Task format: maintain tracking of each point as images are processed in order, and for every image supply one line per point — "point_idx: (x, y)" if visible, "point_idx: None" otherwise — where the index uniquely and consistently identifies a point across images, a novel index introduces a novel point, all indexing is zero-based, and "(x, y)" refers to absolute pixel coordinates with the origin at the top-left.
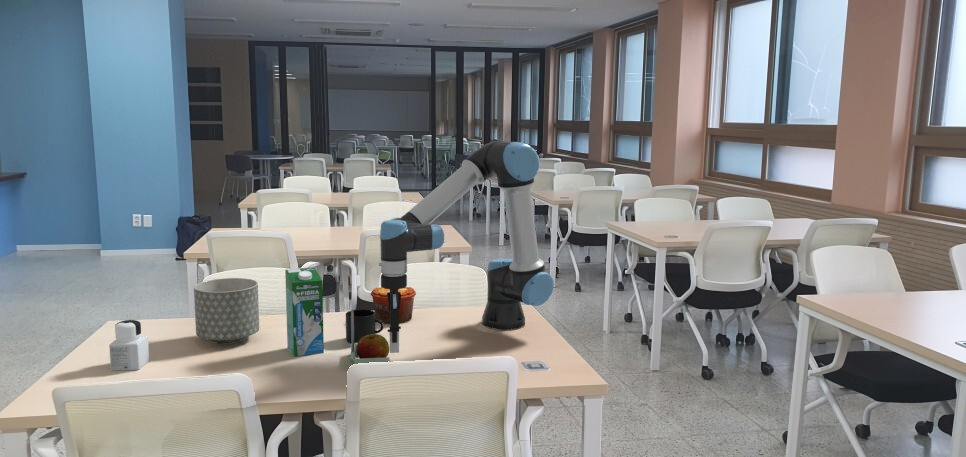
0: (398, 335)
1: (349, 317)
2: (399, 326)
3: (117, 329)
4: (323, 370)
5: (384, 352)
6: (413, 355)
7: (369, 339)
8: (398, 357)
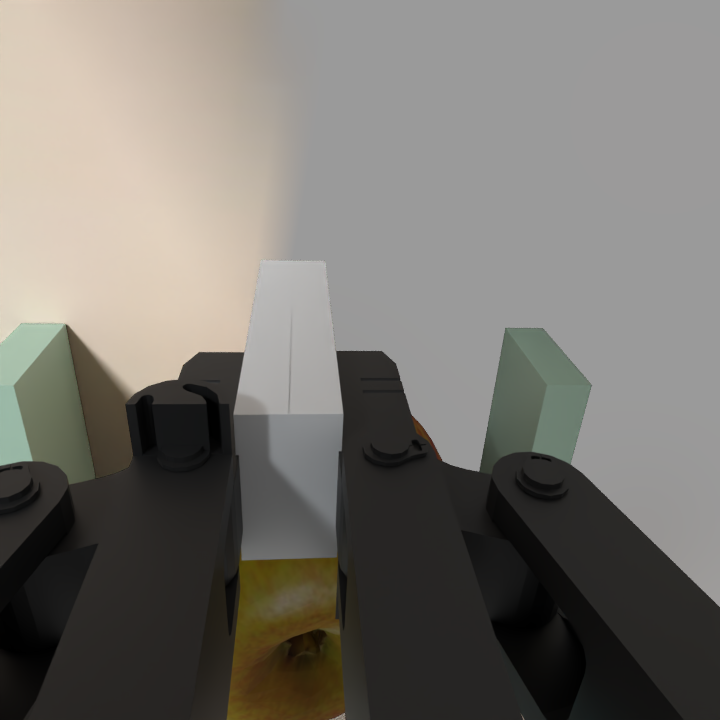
0: (337, 377)
1: None
2: (139, 427)
3: None
4: None
5: (426, 439)
6: (97, 26)
7: (310, 664)
8: (173, 223)
